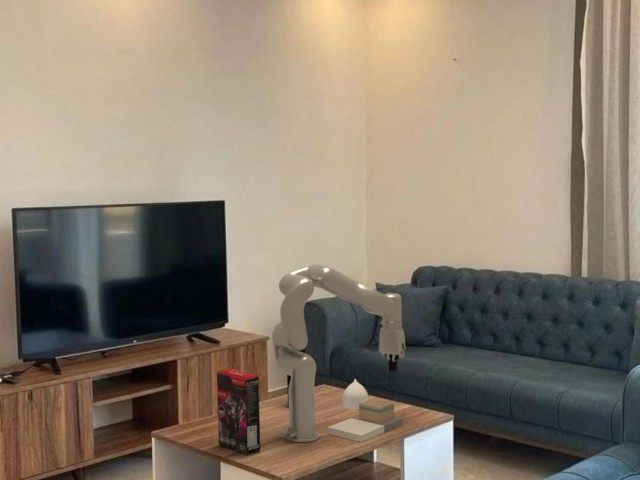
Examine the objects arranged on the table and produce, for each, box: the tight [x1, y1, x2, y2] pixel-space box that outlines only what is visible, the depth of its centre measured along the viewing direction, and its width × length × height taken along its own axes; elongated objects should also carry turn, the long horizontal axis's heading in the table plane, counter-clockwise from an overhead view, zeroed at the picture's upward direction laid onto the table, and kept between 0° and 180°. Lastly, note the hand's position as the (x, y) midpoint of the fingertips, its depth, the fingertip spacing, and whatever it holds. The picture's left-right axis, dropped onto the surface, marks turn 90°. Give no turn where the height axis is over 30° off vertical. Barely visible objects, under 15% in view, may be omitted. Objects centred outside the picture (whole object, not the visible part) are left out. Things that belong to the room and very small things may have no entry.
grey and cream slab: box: [326, 414, 404, 443], centre depth 303 cm, size 26×16×2 cm, turn 139°
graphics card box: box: [216, 368, 261, 455], centre depth 283 cm, size 17×7×27 cm, turn 45°
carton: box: [358, 398, 395, 423], centre depth 308 cm, size 9×10×6 cm
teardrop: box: [342, 378, 369, 411], centre depth 334 cm, size 11×11×12 cm
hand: (392, 370), depth 315 cm, fingers closed
